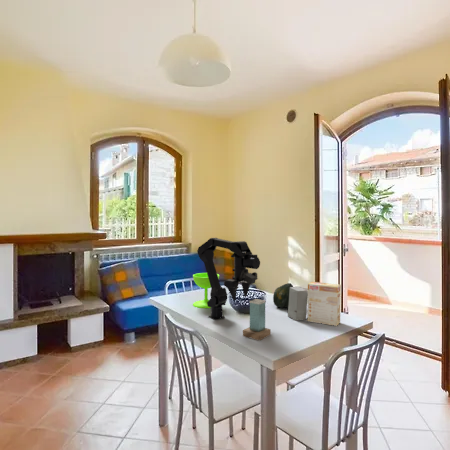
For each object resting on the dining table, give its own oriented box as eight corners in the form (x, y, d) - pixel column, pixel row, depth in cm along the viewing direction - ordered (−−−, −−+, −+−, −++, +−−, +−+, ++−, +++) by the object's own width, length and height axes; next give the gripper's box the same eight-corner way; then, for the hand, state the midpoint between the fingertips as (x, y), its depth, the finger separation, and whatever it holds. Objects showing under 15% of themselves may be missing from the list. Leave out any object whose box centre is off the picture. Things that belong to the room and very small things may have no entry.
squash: (264, 296, 199) (277, 280, 191) (282, 293, 208) (294, 278, 200) (276, 316, 191) (290, 300, 183) (294, 312, 200) (308, 297, 192)
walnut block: (242, 336, 148) (242, 330, 148) (253, 331, 155) (254, 325, 155) (259, 341, 143) (259, 334, 143) (270, 335, 150) (270, 329, 150)
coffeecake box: (340, 322, 167) (341, 284, 166) (337, 326, 161) (337, 286, 160) (311, 317, 175) (311, 281, 174) (307, 321, 169) (307, 283, 168)
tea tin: (249, 329, 149) (249, 300, 149) (255, 326, 153) (256, 298, 153) (259, 332, 146) (259, 302, 145) (265, 329, 150) (265, 300, 149)
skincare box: (287, 316, 177) (287, 287, 176) (298, 315, 179) (299, 286, 179) (296, 321, 169) (296, 290, 168) (308, 319, 171) (308, 289, 171)
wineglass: (214, 309, 190) (214, 278, 189) (188, 307, 194) (188, 276, 193) (222, 302, 205) (222, 273, 205) (198, 300, 209) (198, 272, 209)
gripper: (242, 271, 151) (242, 305, 151) (264, 266, 165) (264, 297, 166) (223, 268, 158) (223, 301, 158) (245, 264, 172) (245, 293, 173)
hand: (240, 298), depth 163 cm, fingers open, 9 cm apart
